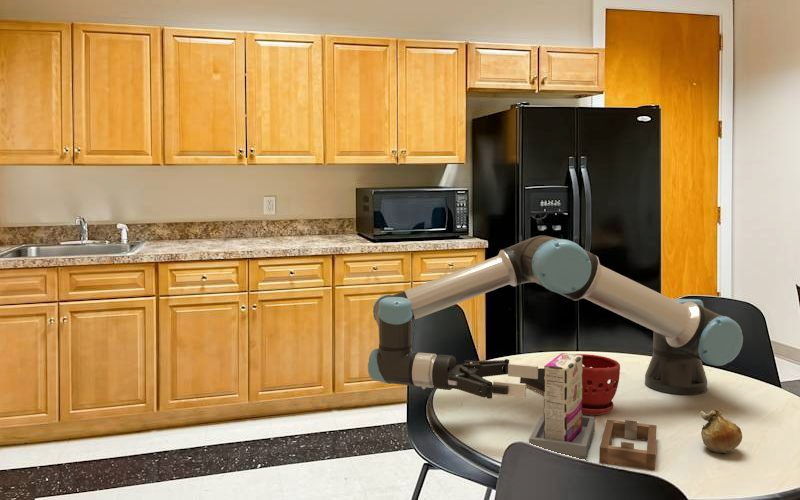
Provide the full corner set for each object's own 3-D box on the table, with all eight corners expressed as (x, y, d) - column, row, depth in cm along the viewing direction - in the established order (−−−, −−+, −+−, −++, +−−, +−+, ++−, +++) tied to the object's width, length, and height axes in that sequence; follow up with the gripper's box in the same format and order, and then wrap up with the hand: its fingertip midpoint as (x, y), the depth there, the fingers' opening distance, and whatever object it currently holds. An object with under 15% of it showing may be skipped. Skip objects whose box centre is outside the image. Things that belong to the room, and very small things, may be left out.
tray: (594, 430, 146) (594, 417, 146) (585, 461, 130) (585, 446, 130) (543, 424, 150) (543, 411, 150) (528, 453, 134) (529, 438, 134)
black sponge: (581, 397, 169) (581, 382, 169) (553, 402, 166) (554, 387, 165) (541, 379, 184) (541, 366, 183) (515, 384, 180) (515, 370, 180)
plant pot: (588, 422, 151) (589, 370, 149) (549, 405, 162) (550, 357, 161) (631, 413, 157) (632, 362, 155) (590, 397, 168) (591, 350, 167)
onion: (700, 456, 132) (702, 417, 131) (698, 441, 140) (699, 404, 139) (743, 461, 130) (745, 421, 129) (738, 446, 137) (740, 408, 136)
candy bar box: (559, 425, 146) (561, 352, 144) (582, 430, 143) (584, 355, 142) (542, 443, 137) (543, 364, 135) (566, 448, 134) (567, 368, 132)
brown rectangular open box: (656, 439, 141) (656, 420, 140) (654, 470, 126) (655, 449, 126) (606, 432, 145) (606, 414, 144) (599, 462, 130) (599, 442, 129)
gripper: (452, 372, 161) (541, 381, 153) (416, 405, 138) (519, 418, 130) (452, 341, 160) (542, 349, 152) (416, 369, 137) (519, 380, 129)
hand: (532, 381), depth 141 cm, fingers open, 13 cm apart
